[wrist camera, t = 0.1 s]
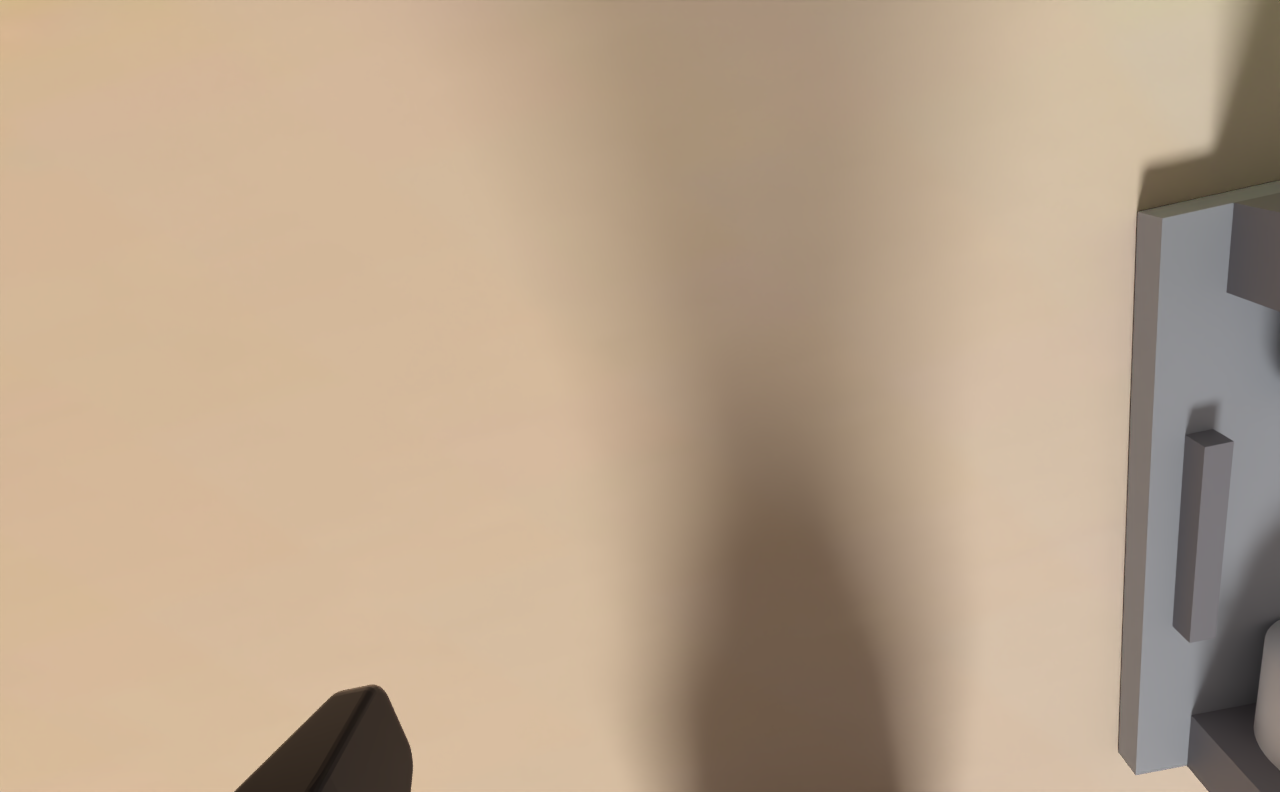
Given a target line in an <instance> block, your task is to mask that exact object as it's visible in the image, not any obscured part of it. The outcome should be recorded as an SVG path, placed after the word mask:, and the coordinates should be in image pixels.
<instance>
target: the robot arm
mask: <svg viewBox="0 0 1280 792" xmlns="http://www.w3.org/2000/svg"><path fill="white" fill-rule="evenodd" d="M412 773H413V760H412V753H411V749H410V745H409V743H408V740H407V738H406V736H405V733H404V731H403V729H402V727H401V724H400V722H399V720H398V718H397V715H396V713H395V711H394V709H393V707H392V704H391V702H390V700H389V698H388V696H387V694H386V692H385V691H384V690H383V689H382V688H381V687H380V686H377V685H367V686H362V687H357V688H352V689H347V690H343V691H340V692H337V693H335V694H334V695H333V696H331V697H330V698H329V699H328V700H327V701H326V702H325V703H324V704H323V705H322V706H321V707H320V708H319V709H318V710H317V711H316V712H315V713H314V714H313V715H312V716H311V717H310V718H309V719H308V720H307V721H306V722H305V723H304V724H303V725H302V726H301V727H300V728H299V729H298V730H296V731H295V732H294V733H293V734H292V735H291V736H290V737H289V738H288V739H287V740H286V741H285V742H284V743H283V744H282V745H281V746H280V747H279V748H278V749H277V750H276V751H275V752H274V753H273V754H272V755H271V756H270V757H269V758H268V759H267V760H266V761H265V762H264V763H263V764H262V765H261V766H260V767H259V768H258V769H257V770H256V771H255V772H254V773H253V774H252V775H251V776H250V777H249V778H248V779H247V780H246V781H245V782H244V783H243V784H241V785H240V786H239V787H238V788H237V789H236V790H235V791H234V792H411V784H412Z"/></svg>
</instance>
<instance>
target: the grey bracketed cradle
mask: <svg viewBox="0 0 1280 792" xmlns="http://www.w3.org/2000/svg"><path fill="white" fill-rule="evenodd" d="M1119 754H1120V755H1121V756H1122V758H1123V759H1124V760H1125V762H1126V763H1127V764H1128V766H1129V767H1130V768H1131V770H1132V771H1133V772H1134V774H1135V775H1139V774H1144V773H1150V772H1155V771H1160V770H1166V769H1171V768H1176V767H1181V766H1188V767H1189V769H1190V770H1191V771H1192V772H1193V773H1194V775H1195V776H1196V777H1197V778H1198V779H1199V781H1200V782H1201V783H1202V784H1203V785H1204V787H1205V788H1206V789H1207V790H1208V791H1209V792H1280V180H1279V181H1274V182H1270V183H1265V184H1261V185H1256V186H1252V187H1247V188H1243V189H1238V190H1234V191H1229V192H1225V193H1220V194H1216V195H1211V196H1206V197H1202V198H1197V199H1193V200H1188V201H1184V202H1179V203H1175V204H1170V205H1166V206H1161V207H1157V208H1152V209H1148V210H1143V211H1139V212H1138V217H1137V245H1136V273H1135V302H1134V330H1133V358H1132V386H1131V414H1130V443H1129V471H1128V499H1127V527H1126V555H1125V584H1124V612H1123V640H1122V668H1121V696H1120V725H1119Z"/></svg>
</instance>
